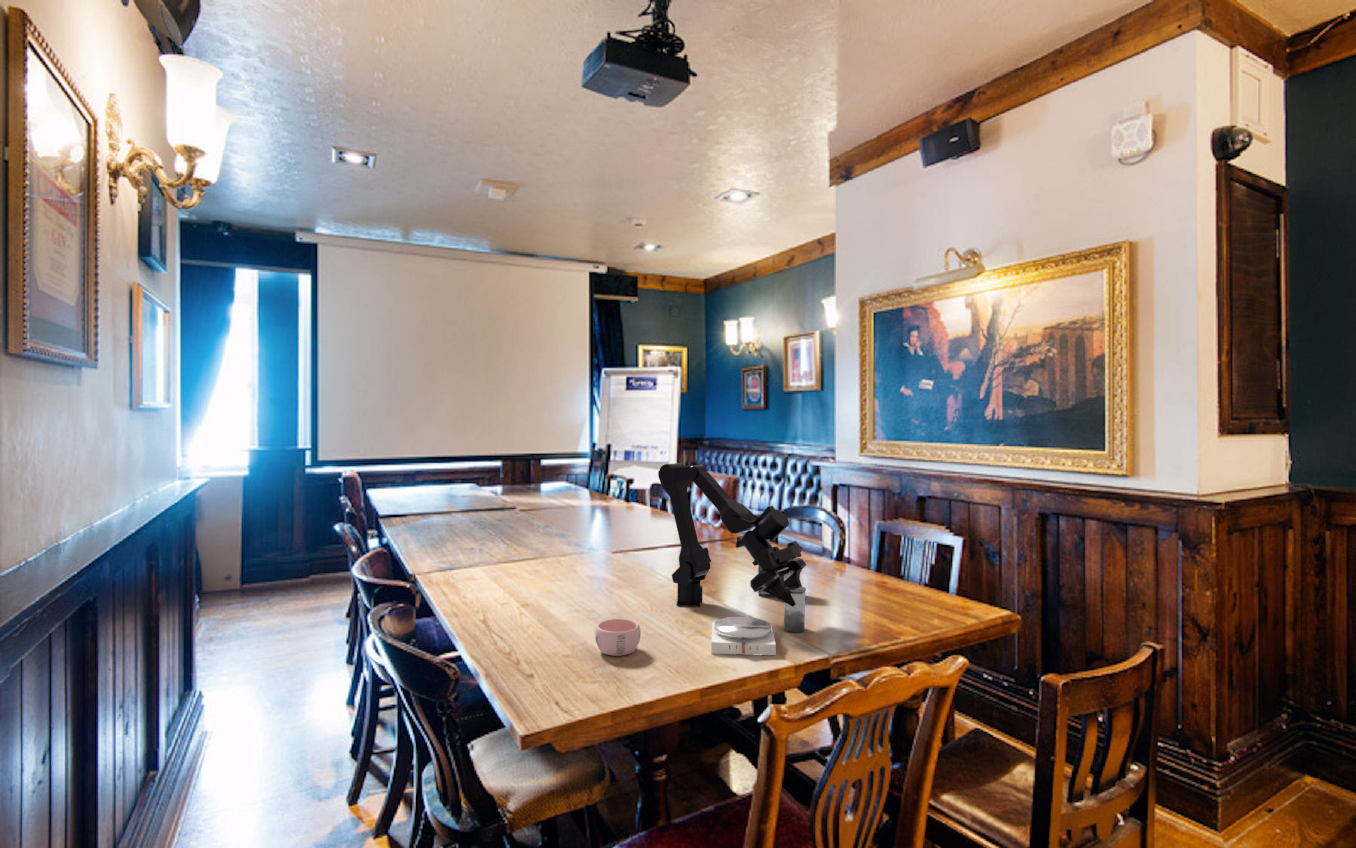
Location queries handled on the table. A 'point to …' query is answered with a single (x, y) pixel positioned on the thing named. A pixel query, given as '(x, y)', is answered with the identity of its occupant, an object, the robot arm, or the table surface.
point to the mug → (617, 636)
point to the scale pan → (742, 628)
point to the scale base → (734, 645)
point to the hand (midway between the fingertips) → (799, 603)
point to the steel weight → (795, 610)
